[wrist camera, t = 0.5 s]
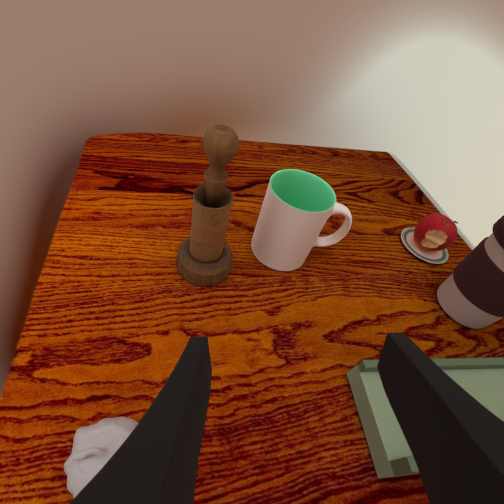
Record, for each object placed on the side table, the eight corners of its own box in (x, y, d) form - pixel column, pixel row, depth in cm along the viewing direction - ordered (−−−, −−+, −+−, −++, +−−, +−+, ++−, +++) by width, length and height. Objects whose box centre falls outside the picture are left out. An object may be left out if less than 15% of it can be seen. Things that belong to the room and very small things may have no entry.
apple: (454, 267, 47) (486, 240, 42) (411, 263, 46) (439, 234, 41) (432, 232, 52) (458, 204, 48) (392, 227, 51) (415, 198, 46)
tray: (377, 478, 25) (412, 472, 22) (346, 373, 31) (369, 354, 28) (606, 451, 32) (663, 443, 28) (544, 367, 37) (584, 351, 34)
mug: (323, 233, 46) (354, 177, 38) (337, 274, 41) (376, 219, 33) (248, 226, 43) (265, 165, 36) (253, 269, 38) (274, 208, 31)
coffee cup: (439, 331, 38) (549, 256, 27) (417, 272, 44) (498, 193, 34) (508, 346, 39) (642, 279, 28) (477, 285, 45) (575, 213, 34)
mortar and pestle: (173, 284, 34) (176, 140, 21) (179, 243, 38) (185, 103, 25) (229, 288, 35) (265, 155, 22) (230, 248, 40) (260, 117, 27)
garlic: (51, 490, 21) (25, 485, 17) (100, 411, 25) (88, 392, 21) (128, 525, 20) (118, 527, 17) (166, 439, 24) (166, 425, 20)
